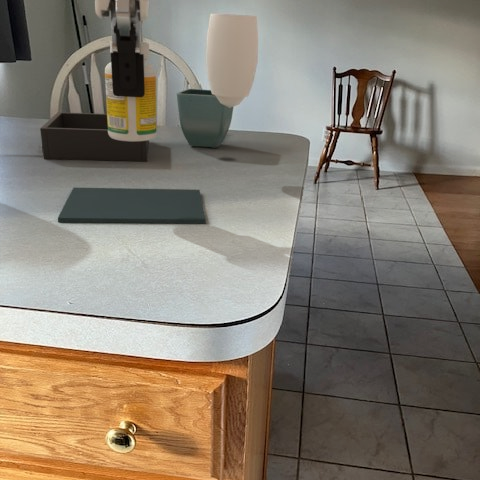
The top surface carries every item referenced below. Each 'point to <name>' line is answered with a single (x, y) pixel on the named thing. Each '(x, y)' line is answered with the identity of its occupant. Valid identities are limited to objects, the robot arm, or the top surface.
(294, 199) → the top surface
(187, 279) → the top surface
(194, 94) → the flower pot
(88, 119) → the black box
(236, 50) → the beige tapered shape
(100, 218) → the mat
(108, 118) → the supplement bottle
